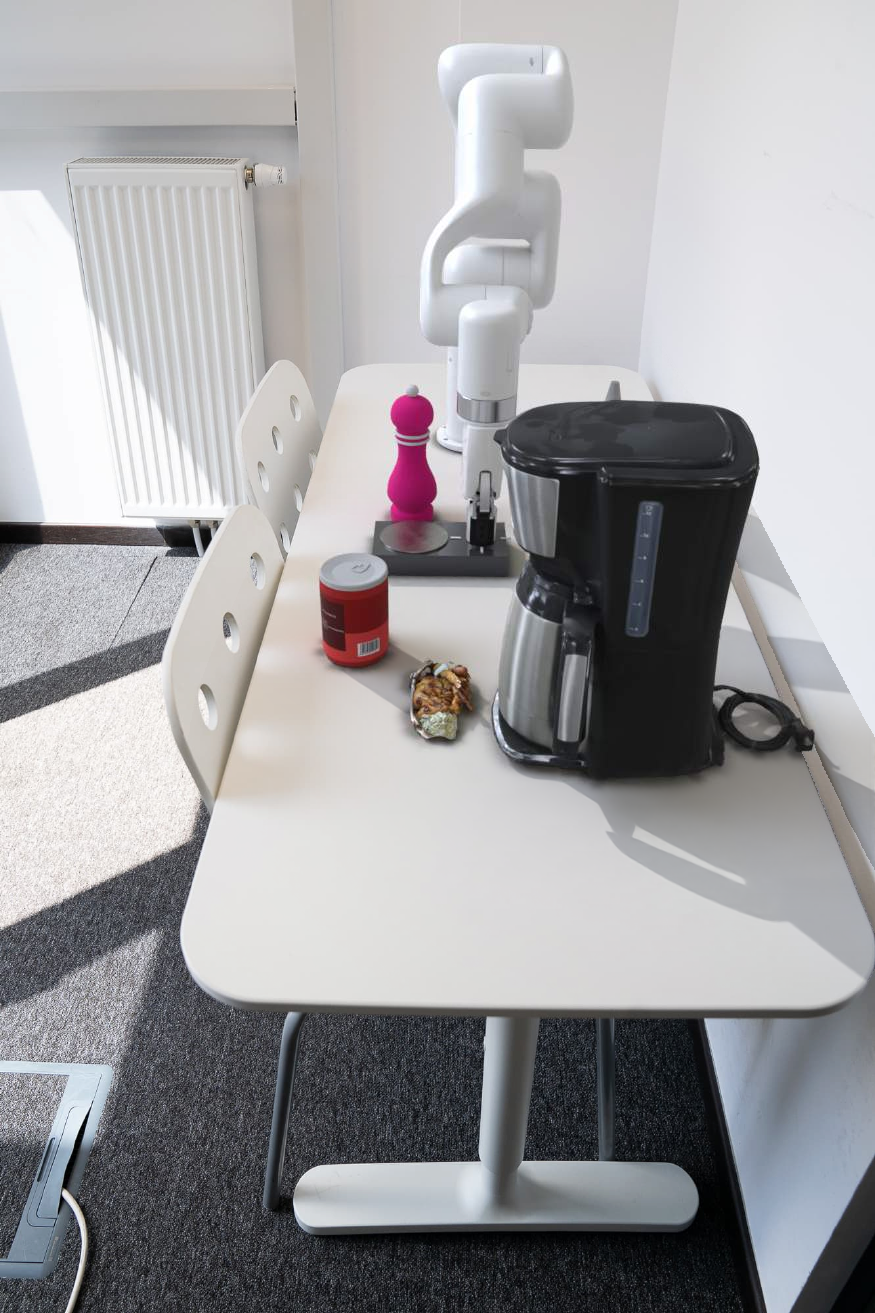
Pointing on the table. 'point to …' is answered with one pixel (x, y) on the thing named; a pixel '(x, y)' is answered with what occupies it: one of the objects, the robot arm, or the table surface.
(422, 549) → the burner plate
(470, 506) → the hob knob
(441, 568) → the hot plate
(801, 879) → the table surface
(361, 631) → the canned food
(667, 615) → the coffee maker
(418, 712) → the foil-wrapped kebab
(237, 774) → the table surface
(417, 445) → the pepper mill
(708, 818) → the table surface
